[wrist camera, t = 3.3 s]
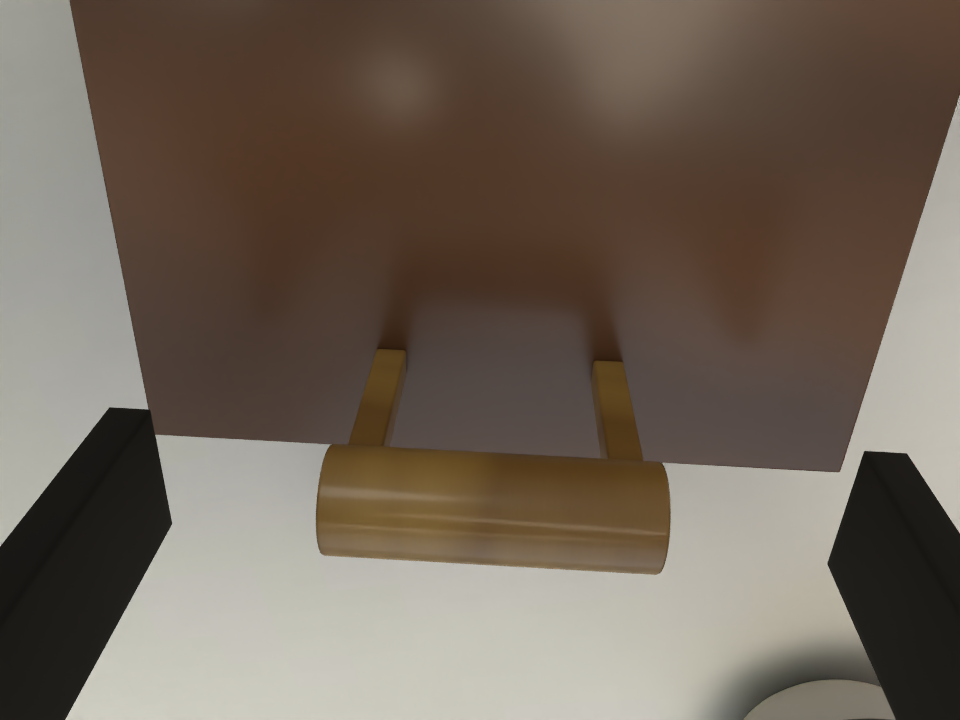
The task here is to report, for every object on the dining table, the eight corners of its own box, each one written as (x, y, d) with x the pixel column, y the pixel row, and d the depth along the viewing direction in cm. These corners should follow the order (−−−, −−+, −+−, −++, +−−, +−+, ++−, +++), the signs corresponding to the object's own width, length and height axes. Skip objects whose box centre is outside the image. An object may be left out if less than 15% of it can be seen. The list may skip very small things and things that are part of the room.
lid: (830, 453, 21) (947, 675, 15) (164, 417, 22) (31, 621, 16) (1199, -756, 11) (1943, -1444, 5) (-57, -792, 12) (-658, -1482, 6)
